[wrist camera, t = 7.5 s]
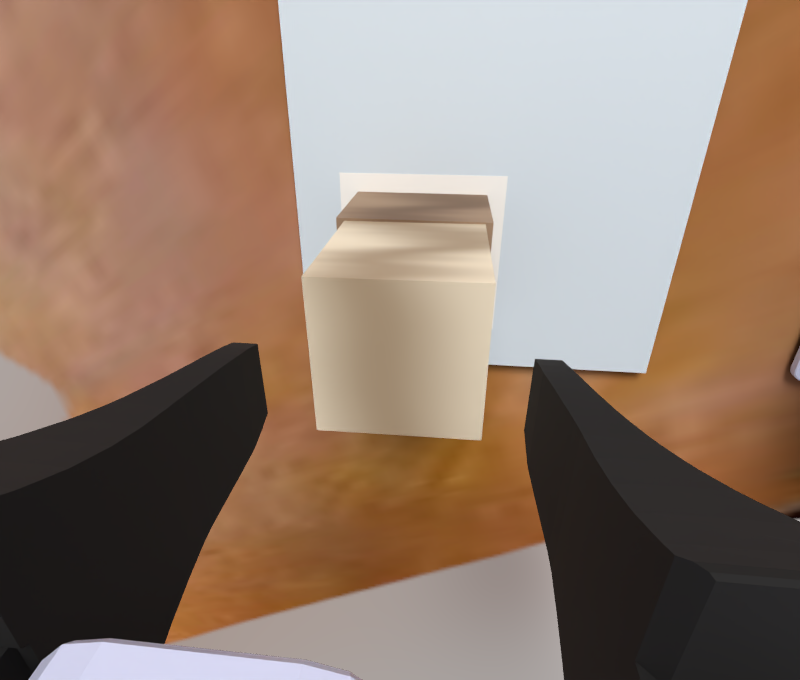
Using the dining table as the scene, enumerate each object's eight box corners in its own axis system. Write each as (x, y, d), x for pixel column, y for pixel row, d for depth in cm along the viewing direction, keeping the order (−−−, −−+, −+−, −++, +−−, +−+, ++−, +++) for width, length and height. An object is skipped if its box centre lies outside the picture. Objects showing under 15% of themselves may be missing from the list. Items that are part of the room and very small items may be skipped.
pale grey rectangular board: (847, -408, 12) (865, -431, 12) (641, 366, 23) (645, 373, 22) (251, -364, 14) (242, -382, 13) (314, 348, 24) (310, 355, 23)
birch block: (485, 224, 16) (495, 283, 11) (476, 349, 18) (481, 440, 14) (343, 220, 16) (301, 276, 12) (351, 343, 18) (316, 430, 14)
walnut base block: (487, 195, 19) (493, 222, 16) (477, 313, 22) (480, 360, 18) (358, 191, 20) (336, 217, 16) (362, 308, 22) (343, 353, 19)
